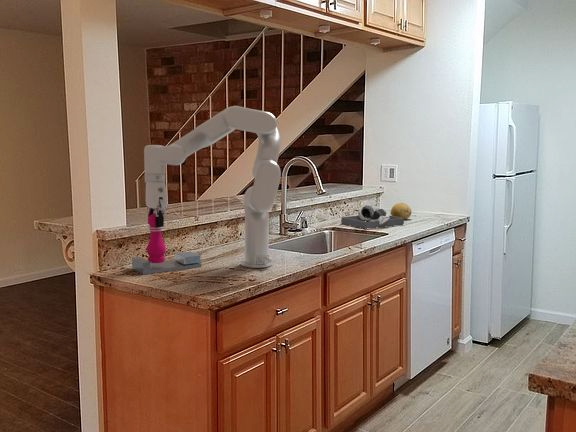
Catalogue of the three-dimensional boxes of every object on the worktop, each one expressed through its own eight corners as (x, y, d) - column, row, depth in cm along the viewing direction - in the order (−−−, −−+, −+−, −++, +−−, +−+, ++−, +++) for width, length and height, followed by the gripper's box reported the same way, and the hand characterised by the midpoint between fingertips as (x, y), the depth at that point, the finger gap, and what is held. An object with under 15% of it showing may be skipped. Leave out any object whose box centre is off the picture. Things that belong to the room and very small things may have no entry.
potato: (395, 217, 369) (395, 201, 367) (413, 219, 361) (414, 203, 359) (387, 219, 361) (387, 202, 359) (405, 221, 353) (406, 204, 351)
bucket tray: (403, 225, 339) (404, 218, 338) (366, 229, 322) (366, 222, 322) (377, 220, 356) (378, 213, 355) (341, 224, 339) (341, 217, 339)
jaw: (200, 262, 232) (200, 255, 232) (184, 264, 228) (184, 257, 228) (190, 258, 239) (190, 251, 239) (174, 260, 235) (174, 253, 235)
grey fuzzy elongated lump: (353, 220, 347) (353, 204, 345) (367, 219, 351) (368, 203, 350) (377, 228, 325) (378, 210, 323) (392, 227, 329) (393, 209, 327)
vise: (201, 266, 232) (201, 255, 231) (143, 274, 218) (142, 263, 217) (189, 261, 241) (189, 250, 240) (132, 268, 227) (131, 257, 226)
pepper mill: (158, 258, 231) (157, 207, 228) (170, 261, 227) (169, 209, 224) (142, 261, 226) (141, 209, 223) (154, 264, 221) (153, 211, 218)
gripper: (174, 179, 217) (174, 228, 219) (155, 176, 231) (156, 221, 233) (154, 180, 212) (155, 229, 215) (136, 176, 226) (137, 223, 229)
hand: (155, 225), depth 224 cm, fingers closed on pepper mill, 6 cm apart
